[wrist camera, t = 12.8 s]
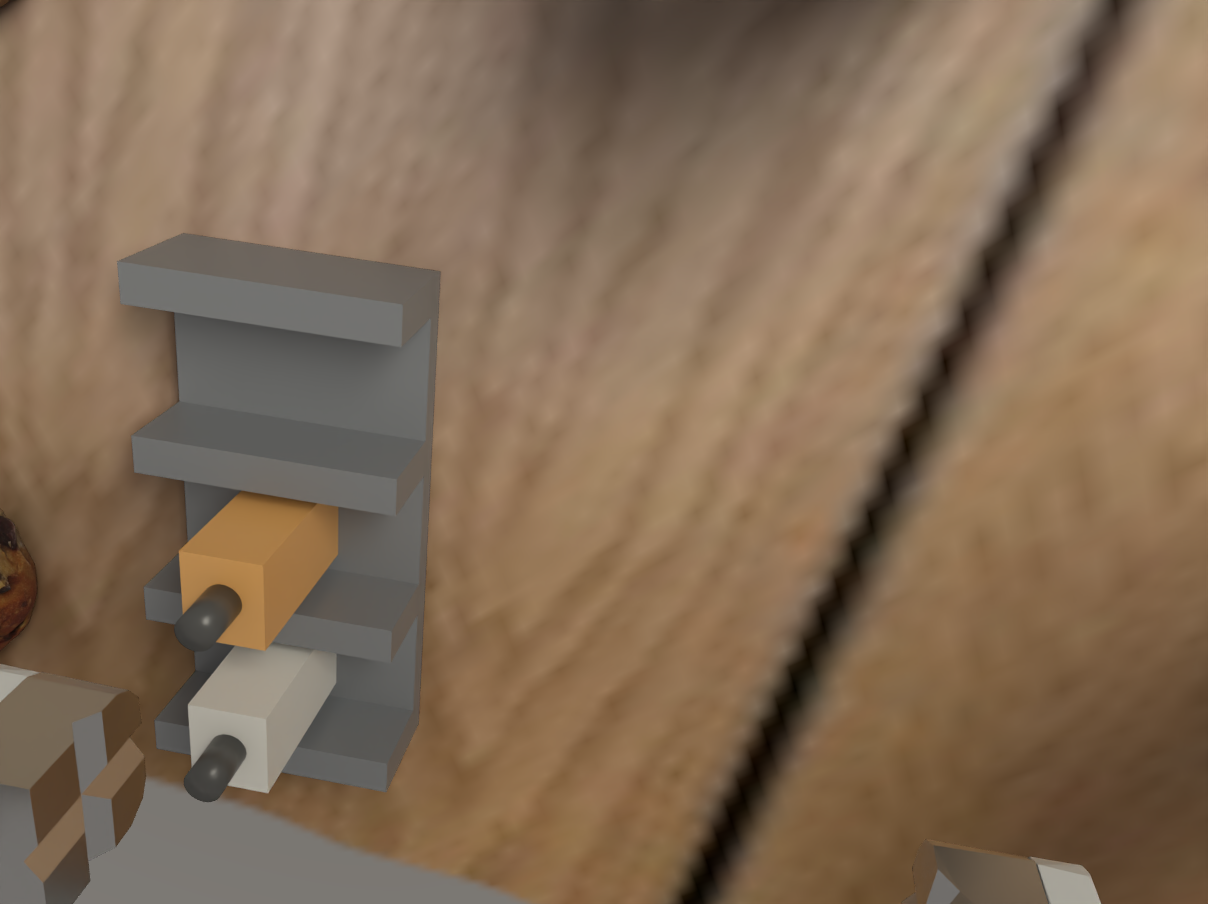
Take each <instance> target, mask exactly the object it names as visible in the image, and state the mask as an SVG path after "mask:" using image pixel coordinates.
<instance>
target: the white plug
mask: <svg viewBox="0 0 1208 904" xmlns="http://www.w3.org/2000/svg"><path fill="white" fill-rule="evenodd" d="M335 684H336V653H330V652H325V651H319V650H314V649H308V648H303V647H297V646H292V645H286V644H280V643H275V642H272V643H271V644H270V645H269V647H268V648H267V649H266V651H263V650H257V649H252V648H246V647H241V646H234V648H233V649H232V650H231V651H230V653H229V654H228V655H227V656H226V658H225V659H224V660H223V661H222V663H221V664H220V665H219V666H218V668H217V669H216V670H215V671H214V673H213V674H212V675H211V676H210V678H209V679H208V680H207V681H206V683H205V684H204V685H203V686H202V688H201V689H200V690H199V691H198V692H197V694H196V695H195V696H194V697H193V699H192V700H191V701H190V702H189V704H188V717H189V732H190V748H191V763H192V768H191V769H190V771H189V772H188V773H187V775H186V776H185V778H184V786H185V788H186V790H187V792H188V793H189V794H190V795H191V796H192V797H194V798H195V799H197V800H200V801H203V802H212V801H215V800H217V799H218V798H219V797H220V795H221V794H222V793H223V791H224V790H225V788H226V787H227V785H228V786H233V787H238V788H243V789H249V790H254V791H259V792H264V793H269V791H270V789H271V788H272V786H273V785H274V783H275V781H276V780H277V778H278V776H279V775H280V773H281V772H282V770H283V768H284V767H285V765H286V763H287V762H288V760H289V759H290V757H291V755H292V754H293V752H294V751H295V749H296V747H297V746H298V744H299V742H300V741H301V739H302V738H303V736H304V734H305V733H306V731H307V729H308V728H309V726H310V725H311V723H312V721H313V720H314V718H315V716H316V715H317V713H318V712H319V710H320V708H321V707H322V705H323V703H324V702H325V700H326V699H327V697H328V695H329V694H330V692H331V690H332V689H333V687H334V686H335Z"/></svg>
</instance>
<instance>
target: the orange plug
mask: <svg viewBox="0 0 1208 904" xmlns="http://www.w3.org/2000/svg"><path fill="white" fill-rule="evenodd" d="M337 555H338V507H337V506H331V505H325V504H319V503H313V502H307V501H301V500H295V499H289V498H283V497H277V496H271V495H266V494H260V493H254V492H248V491H241V492H239V493H238V494H237V495H236V496H235V497H234V498H233V499H232V500H231V501H230V502H229V503H228V504H227V505H226V506H225V507H224V508H223V509H222V510H221V511H220V512H219V513H218V514H217V515H216V516H215V517H214V518H212V519H211V520H210V521H209V522H208V523H207V524H206V525H205V526H204V527H203V528H202V529H201V530H200V531H199V532H198V533H197V534H196V535H195V536H194V537H193V538H192V539H191V540H190V541H189V542H188V543H187V544H186V545H184V546H183V547H182V548H181V549H180V550H179V562H180V578H181V593H182V609H183V615H182V616H181V617H180V618H179V619H178V620H177V622H176V624H175V627H174V631H175V635H176V637H177V639H178V641H179V642H180V643H181V644H182V645H183V646H184V647H186V648H188V649H190V650H192V651H197V652H203V651H206V650H208V649H210V648H211V647H212V646H213V645H214V644H215V642H218V643H224V644H229V645H235V646H241V647H246V648H252V649H257V650H263V651H266V649H267V648H268V647H269V645H270V644H271V643H272V641H273V640H274V639H275V637H276V636H277V635H278V634H279V632H280V631H281V630H282V628H283V627H284V626H285V624H286V623H287V622H288V620H289V619H290V618H291V616H292V615H293V614H294V612H295V611H296V610H297V608H298V607H299V606H300V604H301V603H302V602H303V600H304V599H305V598H306V596H307V595H308V594H309V592H310V591H311V590H312V588H313V587H314V586H315V584H316V583H317V582H318V580H319V579H320V578H321V576H322V575H323V574H324V572H325V571H326V570H327V568H328V567H329V566H330V564H331V563H332V562H333V560H334V559H335V558H336V556H337Z"/></svg>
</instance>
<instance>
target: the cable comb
mask: <svg viewBox="0 0 1208 904" xmlns="http://www.w3.org/2000/svg"><path fill="white" fill-rule="evenodd" d="M117 265H118V277H119V289H120V302H121V304H125V305H132V306H138V307H144V308H151V309H157V310H164V311H170V312H174V318H175V334H176V351H177V368H178V385H179V402H178V403H177V404H175V405H174V406H172V407H171V408H170V409H168V410H167V411H165V412H164V413H163V414H161V415H160V416H158V417H157V418H155V419H154V420H153V421H151V422H150V423H148V424H147V425H146V426H144V427H143V428H141V429H140V430H139V431H137V432H136V433H134V434H133V435H131V437H132V450H133V462H134V472H135V473H141V474H147V475H153V476H159V477H165V478H171V479H176V480H182V481H184V486H185V502H186V519H187V536H188V542H189V541H190V540H191V539H192V538H193V537H194V536H195V535H196V534H197V533H198V532H199V531H200V530H201V529H202V528H203V527H204V526H205V525H206V524H207V523H208V522H209V521H210V520H211V519H212V518H214V517H215V516H216V515H217V514H218V513H219V512H220V511H221V510H222V509H223V508H224V507H225V506H226V505H227V504H228V503H229V502H230V501H231V500H232V499H233V498H234V497H235V496H236V495H237V494H238V493H239V492H241V491H248V492H254V493H260V494H266V495H271V496H277V497H283V498H289V499H295V500H301V501H307V502H313V503H319V504H325V505H331V506H337V507H338V555H337V556H336V558H335V559H334V560H333V562H332V563H331V564H330V566H329V567H328V568H327V570H326V571H325V572H324V574H323V575H322V576H321V578H320V579H319V580H318V582H317V583H316V584H315V586H314V587H313V588H312V590H311V591H310V592H309V594H308V595H307V596H306V598H305V599H304V600H303V602H302V603H301V604H300V606H299V607H298V608H297V610H296V611H295V612H294V614H293V615H292V616H291V618H290V619H289V620H288V622H287V623H286V624H285V626H284V627H283V628H282V630H281V631H280V632H279V634H278V635H277V636H276V637H275V639H274V640H273V641H272V642H275V643H280V644H286V645H292V646H297V647H303V648H308V649H314V650H319V651H325V652H330V653H336V684H335V686H334V687H333V689H332V690H331V692H330V694H329V695H328V697H327V699H326V700H325V702H324V703H323V705H322V707H321V708H320V710H319V712H318V713H317V715H316V716H315V718H314V720H313V721H312V723H311V725H310V726H309V728H308V729H307V731H306V733H305V734H304V736H303V738H302V739H301V741H300V742H299V744H298V746H297V747H296V749H295V751H294V752H293V754H292V755H291V757H290V759H289V760H288V762H287V763H286V765H285V767H284V768H283V770H282V772H283V773H288V774H293V775H298V776H304V777H309V778H314V779H319V780H325V781H330V782H335V783H340V784H346V785H351V786H356V787H362V788H367V789H372V790H377V791H383V792H387V790H388V788H389V786H390V783H391V781H392V779H393V777H394V775H395V773H396V771H397V768H398V766H399V764H400V762H401V760H402V758H403V756H404V754H405V751H406V749H407V747H408V745H409V743H410V741H411V739H412V737H413V734H414V732H415V730H416V728H417V726H418V724H419V706H420V685H421V664H422V644H423V623H424V603H425V582H426V561H427V541H428V520H429V499H430V479H431V458H432V437H433V417H434V396H435V376H436V355H437V334H438V314H439V293H440V272H441V271H434V270H428V269H421V268H414V267H407V266H401V265H394V264H387V263H380V262H374V261H367V260H360V259H354V258H347V257H340V256H333V255H327V254H320V253H313V252H306V251H300V250H293V249H286V248H279V247H273V246H266V245H259V244H253V243H246V242H239V241H232V240H226V239H219V238H212V237H205V236H199V235H192V234H185V233H183V234H180V235H178V236H176V237H173V238H171V239H169V240H166V241H164V242H161V243H159V244H157V245H154V246H152V247H150V248H147V249H145V250H143V251H140V252H138V253H136V254H133V255H131V256H129V257H126V258H124V259H121V260H119V261H117ZM144 598H145V610H146V619H147V620H153V621H158V622H164V623H169V624H176V622H177V620H178V619H179V618H180V617H181V616H182V615H183V609H182V593H181V578H180V562H179V553H178V554H177V555H176V556H175V557H174V558H173V559H172V560H171V561H170V562H169V563H168V564H167V565H166V566H165V567H164V568H163V569H162V570H161V571H160V572H159V573H158V574H157V575H156V576H155V577H154V578H153V579H152V580H151V581H149V582H148V583H147V584H146V585H145V586H144ZM234 646H235V645H229V644H224V643H218V642H215V644H214V645H213V646H212V647H211V648H210V649H208V650H206V651H203V652H197V651H194V653H195V670H196V671H195V672H194V673H193V674H192V676H191V677H190V678H189V679H188V680H187V682H186V683H185V684H184V685H183V686H182V688H181V689H180V690H179V691H178V692H177V694H176V695H175V696H174V697H173V698H172V700H171V701H170V702H169V703H168V704H167V706H166V707H165V708H164V709H163V710H162V712H161V713H160V714H159V715H158V716H157V718H156V719H155V720H154V721H155V733H156V745H157V749H162V750H167V751H172V752H177V753H183V754H188V755H191V748H190V732H189V717H188V704H189V702H190V701H191V700H192V699H193V697H194V696H195V695H196V694H197V692H198V691H199V690H200V689H201V688H202V686H203V685H204V684H205V683H206V681H207V680H208V679H209V678H210V676H211V675H212V674H213V673H214V671H215V670H216V669H217V668H218V666H219V665H220V664H221V663H222V661H223V660H224V659H225V658H226V656H227V655H228V654H229V653H230V651H231V650H232V649H233V648H234Z"/></svg>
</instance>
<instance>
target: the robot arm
mask: <svg viewBox="0 0 1208 904" xmlns="http://www.w3.org/2000/svg"><path fill="white" fill-rule="evenodd" d="M141 723H142V719H141V712H140V704H139V697H138V696H136V695H135V694H133V693H132V692H131V691H129V690H125V689H121V688H116V687H111V686H107V685H102V684H97V683H92V682H88V681H83V680H78V679H74V678H69V677H64V676H59V675H55V674H50V673H45V672H41V673H39V672H35V671H31V670H26V669H22V668H17V667H12V666H8V665H3V664H0V904H73V903H74V902H75V900H76V899H77V898H78V896H79V895H80V894H81V893H82V891H83V890H84V889H85V887H86V886H87V885H88V883H89V882H90V873H89V863H88V861H90V860H92V859H94V858H96V857H98V856H100V855H102V854H103V853H106V852H107V851H109V850H111V849H113V848H115V847H116V846H117V845H118V843H119V842H120V840H121V839H122V838H123V836H124V835H125V834H126V832H127V831H128V830H129V828H130V827H131V825H132V823H133V820H134V818H135V816H136V813H137V811H138V808H139V806H140V803H141V801H142V799H143V793H144V786H145V780H146V767H145V756H144V755H143V754H142V752H141V751H140V750H139V749H138V747H137V746H136V745H135V743H134V742H133V741H132V740H131V738H130V736H131V735H132V734H133V733H134V732H135V730H136V729H137V728H138V727H139V726H140V724H141ZM912 871H913V877H914V884H915V890H916V893H914V894H913V895H911V896H909V897H908V898H906V899H905V900H903V901H902V902H901V904H1101V902H1100V899H1099V896H1098V894H1097V891H1096V888H1095V886H1094V883H1093V881H1092V878H1091V875H1090V873H1089V872H1088V871H1087V870H1086V869H1085V868H1084V867H1083V866H1082V865H1077V864H1071V863H1065V862H1059V861H1053V860H1047V859H1041V858H1035V857H1028V858H1026V857H1024V856H1019V855H1013V854H1007V853H1002V852H996V851H991V850H985V849H980V848H974V847H968V846H963V845H957V844H952V843H946V842H940V841H935V840H929V839H925V840H924V841H923V843H922V844H921V846H920V847H919V849H918V852H917V855H916V858H915V861H914V864H913V867H912Z"/></svg>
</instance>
